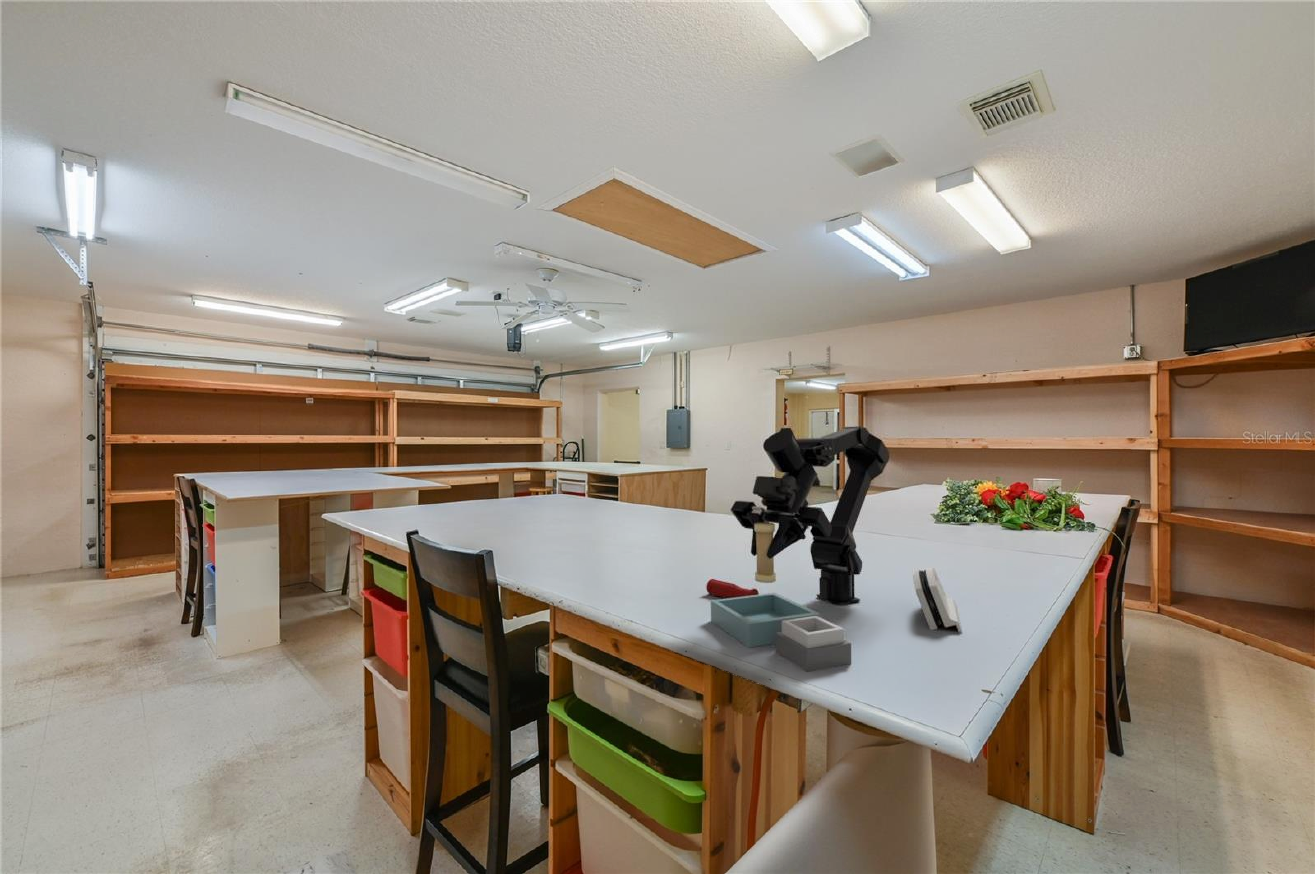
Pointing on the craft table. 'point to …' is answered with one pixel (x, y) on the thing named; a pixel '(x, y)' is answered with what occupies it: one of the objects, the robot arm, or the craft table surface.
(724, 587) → the red tapered rod
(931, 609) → the whiteboard eraser
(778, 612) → the parts tray
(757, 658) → the craft table surface
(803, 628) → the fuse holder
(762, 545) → the cylinder
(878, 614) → the craft table surface
